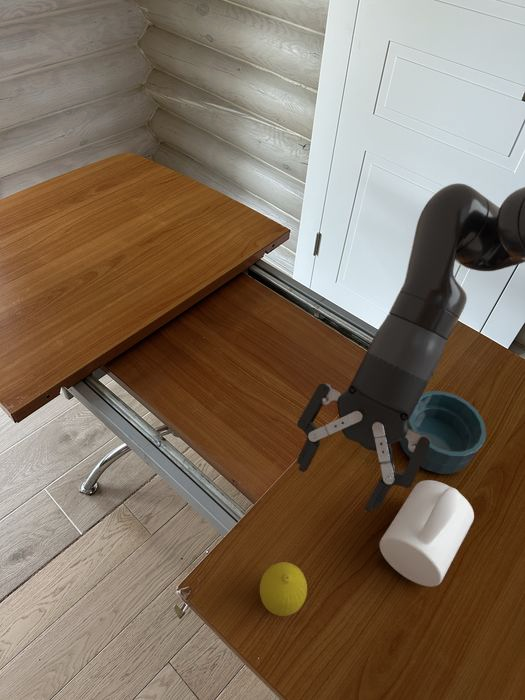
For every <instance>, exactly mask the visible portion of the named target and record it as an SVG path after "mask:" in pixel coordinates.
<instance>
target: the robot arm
mask: <svg viewBox="0 0 525 700" xmlns="http://www.w3.org/2000/svg"><path fill="white" fill-rule="evenodd" d="M455 263H457V264H459V265H460V266H462V267H464V268H466V269H468V270H473V271H477V272H495V271H500V270H504V269H506V268H510V267H514V266H518V265H521V264H523V263H525V186H523V187H520V188H518V189H516V190H514V191H513V192H511V193H510V194H509V195H507V196H506V197H505V199H504V200H503V202H502V203H501V205H500V207H499V206H498V205H497V204H495V203H494V202H493V201H491V200H490V199H488V198H487V197H486V196H485V195H483V194H482V193H480V192H479V191H478V190H476V189H475V188H473V187H472V186H470V185H468V184H466V183H451V184H448V185H446V186H444V187H442V188H440V189H439V190H438V191H436V192H435V193H434V194H433V195H432V196H431V197H430V198H429V199H428V201H426V203H425V205H424V207H423V208H422V210H421V212H420V215H419V218H418V220H417V223H416V227H415V230H414V236H413V240H412V245H411V250H410V255H409V259H408V263H407V268H406V272H405V273H406V274H405V278H404V282H403V284H402V286H401V288H400V290H399V292H398V294H397V296H396V298H395V300H394V302H393V303H392V306H391V307H390V310H389V312H388V314H387V315H386V317H385V319H383V320H384V321H382V323H381V325H380V326H379V328H378V329H377V330H376V333H375V335H374V336H373V338H372V340H371V343H370V345H369V346H368V348H367V350H366V352H365V354H364V356H363V359H362V360H361V362H360V364H359V367H358V368H357V370H356V372H355V374H354V376H353V378H352V380H351V382H350V384H349V386H348V388H347V389H346V391H345V392H343V393H341V392H340V391H338V390H336V389H335V388H333V387H332V385H331V384H330V383H325V382H324V383H320V384H318V386H317V387H316V389H315V390H314V393H313V394H312V396H311V398H310V399H309V401H308V403H307V405H306V407H305V408H304V410H303V412H302V413H301V415H300V417H299V418H298V420H297V427H298V428H299V429H300V430H301V431H303V432H304V433H305V435H306V440H305V442H304V444H303V446H302V448H301V451H300V452H299V454H298V456H297V458H296V463H297V464H298V465H299V467H298V470H299V471H300V472H301V473H305V472H307V471H308V469H309V467H310V465H311V464H312V461H313V460H314V458H315V456H316V454H317V452H318V449H319V447H320V445H321V439H324V438H326V437H329V436H331V435H333V434H335V433H337V432H339V431H341V433H342V434H343V435H344V438H346V439H348V440H349V441H352V442H356V443H358V444H359V445H360V446H362V447H363V448H364V449H365V450H367V451H376V452H377V457H378V462H379V465H380V470H381V471H380V472H381V475H382V476H380V478H379V479H378V481H377V483H376V485H375V487H374V489H373V491H372V493H371V495H370V497H369V499H368V500H367V503H366V504H365V507H364V510H365V511H368V512H369V513H370V512H372V511H371V510H372V509H374V510H378V509H379V508H381V506H382V504H383V502H384V500H385V498H386V496H387V494H388V493H389V491H390V489H391V487H393V486H399V487H403V488H405V489H409V488H411V487H412V486H413V484H414V481H415V480H416V477H417V474H418V472H419V470H420V469H421V463H422V461H423V459H424V457H425V454H426V452H427V450H428V448H429V445H430V437H429V436H427V435H421V434H419V433H417V432H414V431H412V430H410V429H408V422H409V419H410V417H411V415H412V413H413V411H414V409H415V407H416V405H417V403H418V402H419V400H420V398H421V396H422V394H423V393H425V390H426V388H427V386H428V384H429V383H430V381H431V379H432V377H433V376H434V375H435V373H436V369H437V367H438V365H439V363H440V362H441V358H442V355H443V352H444V350H445V347H446V345H447V343H448V340H449V338H450V336H451V335H452V333H453V331H454V329H455V327H456V325H457V323H458V321H459V319H460V318H461V316H462V314H463V312H464V309H465V307H466V304H467V300H468V297H467V293H466V291H465V290H464V289H463V287H462V286H461V285H460V284H459V282H458V281H457V279H456V278H455V275H454V270H455V269H454V268H455ZM333 401H336V407H337V412H338V418H337V419H335V420H333V421H331V422H329V423H327V424H324V425H322V426H320V427H318V426H317V425H315V423H314V422H315V420H316V418H317V416H318V414H319V413H320V411H321V410H322V409H323V406H324V405H325V406H326V405H330V404H331V403H333ZM404 437H406V438H407V439H408V441H409V444H408V448H409V450H410V451H411V452H413V454H412V456H411V458H410V457H409V461H408V463H407V465H406V468H405V470H404V471H403V472H401V471H396V468H395V463H394V462H395V461H394V454H393V449H392V444H395V443H397V442H400V441H399V440H401V439H403V438H404Z"/></svg>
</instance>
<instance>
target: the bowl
mask: <svg viewBox="0 0 525 700" xmlns="http://www.w3.org/2000/svg"><path fill="white" fill-rule="evenodd" d="M408 429H410V430H412V431H414V432H417V433H419V434H421V435H427V436H429V437H430V445H429V448H428V450H427V452H426V454H425V457H424V459H423V461H422V463H421V466H420V468H422V469H424V470H426V471H429V472H432V473H436V474H438V475H439V474H440V475H441V474H442V475H443V474H444V475H446V474H447V475H449V474H450V475H452V474H455V473H457V472H461V471H463V470H464V469H465V468H466V467H467V466H468V465H469V464H470V463H471V462H472V460H473V459H474V458H475V457H476V456H477V454H478V452H479V451H480V449H482V447H483V445H484V443H485V440H486V436H487V430H486V424H485V422H484V419H483V418H482V416H481V414H480V412H479V411H478V410H477V409H476V408H475V407H474V406H473V405H472V404H471V403H470V402H469V401H468V400H465V399H464V398H462V397H460V396H459V395H456V394H455V393H451V392H447V391H441V390H429V391H426V392H423V394H422V396H421V398H420V400H419V402H418V403H417V405H416V407H415V409H414V411H413V413H412V415H411V417H410V419H409V422H408ZM398 442H399V443H400V445H401V448H402V450H403V452H404V454H406V455H407V457H408V458H409V459H410V458H411V456H412V454H413V452H411V451H410V450H409V448H408V444H409V441H408V439H407V438H406V437H404V438H403V439H401V440H399V441H398Z"/></svg>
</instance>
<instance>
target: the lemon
mask: <svg viewBox="0 0 525 700" xmlns="http://www.w3.org/2000/svg"><path fill="white" fill-rule="evenodd" d="M260 579H261V580H260V584H259V595H260V599H261V602H262V604H263V606H264V607H265V608H266V610H267V611H268V612H270V613H272V614H273V615H276V616H278V617H287V616H291V615H293V614H295V613H297V612H298V611H299V610H300V609H301V608H302V606H303V605H304V603H305V601H306V598H307V595H308V584H307V579H306V577H305V574H304V573H303V572H302V570H301V569H300V568H299V567H298V566H297V565H295V564H293V563H291V562H287V561H282V562H281V561H279V562H277V563H274V564H273V565H271V566H270V567H268V568H267V570H266V571H265V572H264V574H263V575H262V577H261V578H260Z"/></svg>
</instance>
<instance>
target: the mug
mask: <svg viewBox="0 0 525 700" xmlns="http://www.w3.org/2000/svg"><path fill="white" fill-rule="evenodd" d="M474 519H475V513H474V509H473V507H472V505H471V503H470V502H469V501H468V499H467V498H465V496H463V494H462V493H460V491H459V490H458V489H456V488H454V487H452V486H449V485H448V484H446V483H443V482H440V481H437V480H430V479H426V480H420V481H419V482H418V483H416V484H415V485H414V487H413V488H412V490H411V492H410V493H409V495H408V497H407V499H405V501H404V503H403V505H402V506H401V507H400V509H399V511H398V513H396V516H395V517H394V519H393V520H392V522H391V523H390V525H389V526H388V527H387V529H386V531H385V533H384V534H383V536H382V537H381V539H380V540H379V550H380V552H381V554H382V556H383V558H384V559H385V561H386V562H387V563H388V565H390V566H391V567H392V568H393V570H395V571H396V572H397V573H398V574H400V575H401V576H403V577H404V578H406V579H407V580H409V581H411V582H413V583H415V584H416V585H417V584H418V585H420V586H423V587H431V588H432V587H437V586H439V585H441V583H442V582H443V580H444V578H445V576H446V574H447V572H448V570H449V568H450V566H451V564H452V563H453V560H454V559H455V557H456V555H457V554H458V551H459V549H460V547H461V545H462V543H463V542H464V539H465V538H466V536H467V534H468V532H469V530H470V528H471V526H472V525H473V522H474Z"/></svg>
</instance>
